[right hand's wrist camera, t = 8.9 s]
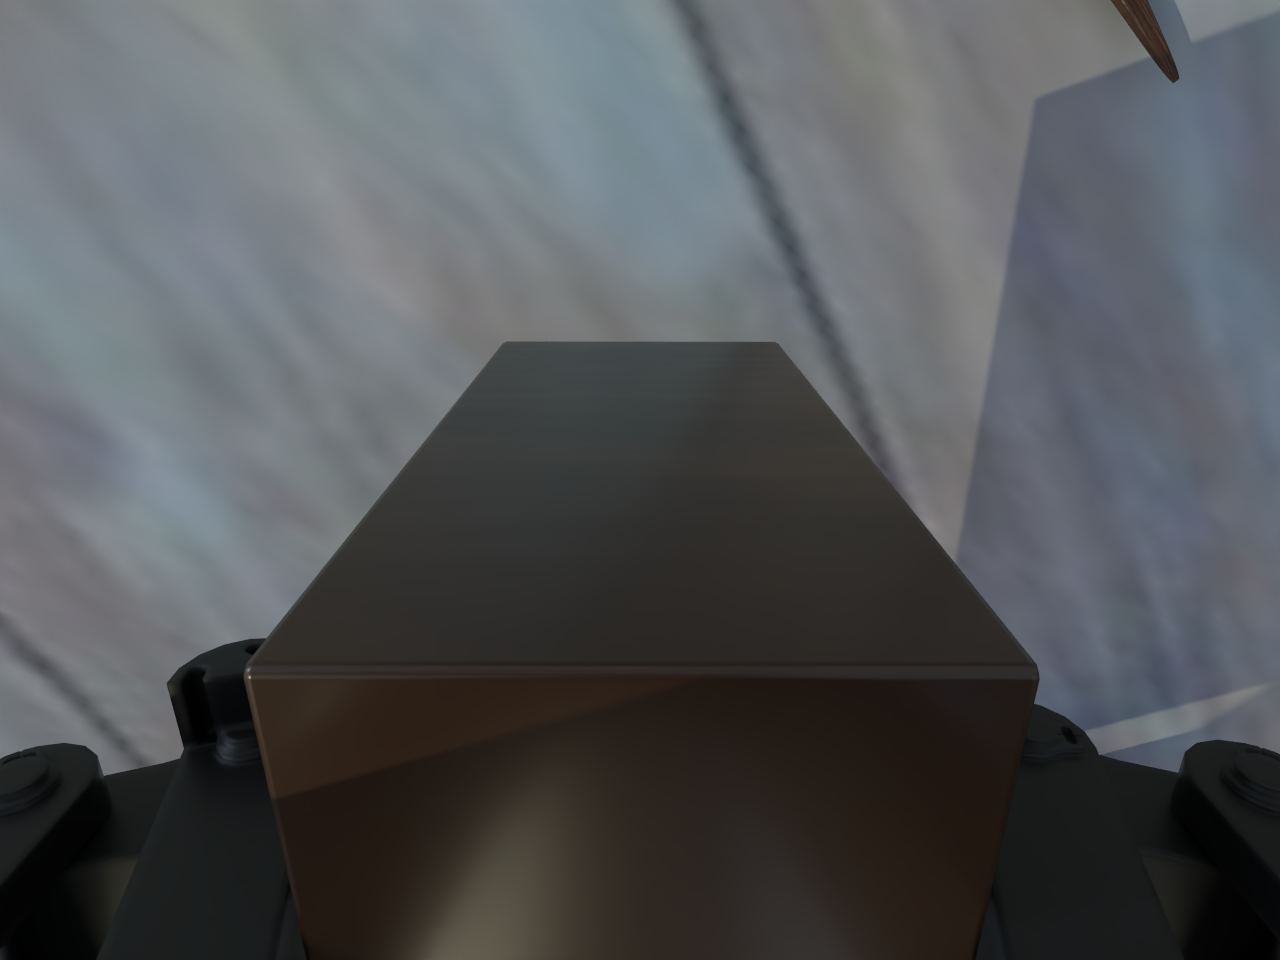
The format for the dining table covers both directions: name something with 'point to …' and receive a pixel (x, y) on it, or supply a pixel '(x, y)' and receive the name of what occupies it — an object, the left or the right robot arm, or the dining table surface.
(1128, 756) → the dining table surface
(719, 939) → the walnut box
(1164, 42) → the fork
